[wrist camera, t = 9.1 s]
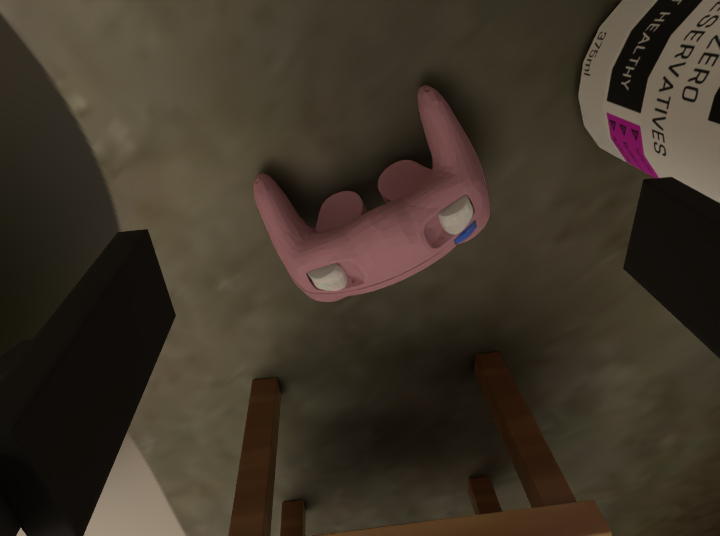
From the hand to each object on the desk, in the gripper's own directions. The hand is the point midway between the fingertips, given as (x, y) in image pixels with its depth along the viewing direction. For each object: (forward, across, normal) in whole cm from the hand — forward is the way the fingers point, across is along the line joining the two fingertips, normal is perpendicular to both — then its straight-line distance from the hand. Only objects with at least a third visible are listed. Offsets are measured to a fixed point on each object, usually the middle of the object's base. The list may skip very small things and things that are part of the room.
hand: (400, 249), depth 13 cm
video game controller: (+11, 0, -2) cm, 11 cm away
